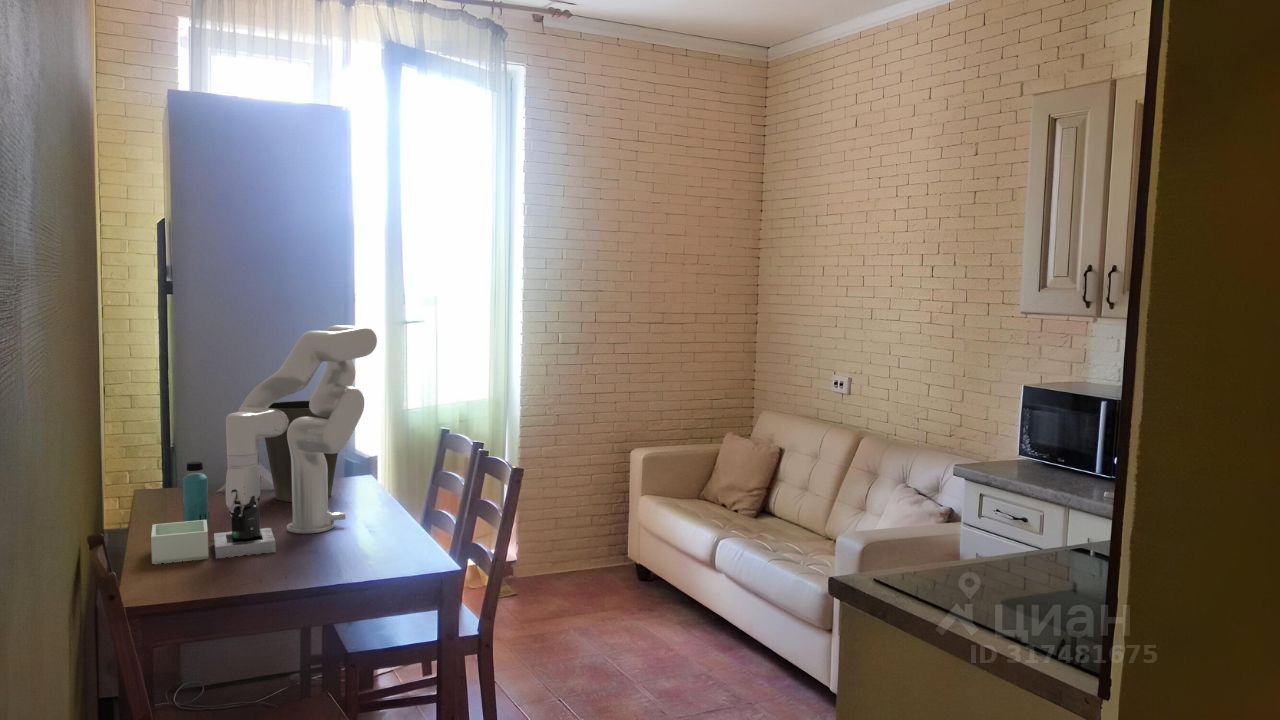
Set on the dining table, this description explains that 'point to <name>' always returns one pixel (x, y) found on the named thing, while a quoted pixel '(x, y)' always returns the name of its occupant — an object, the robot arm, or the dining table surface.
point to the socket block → (243, 544)
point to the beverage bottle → (195, 494)
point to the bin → (179, 541)
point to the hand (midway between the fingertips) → (245, 526)
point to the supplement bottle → (249, 523)
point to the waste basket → (281, 451)
